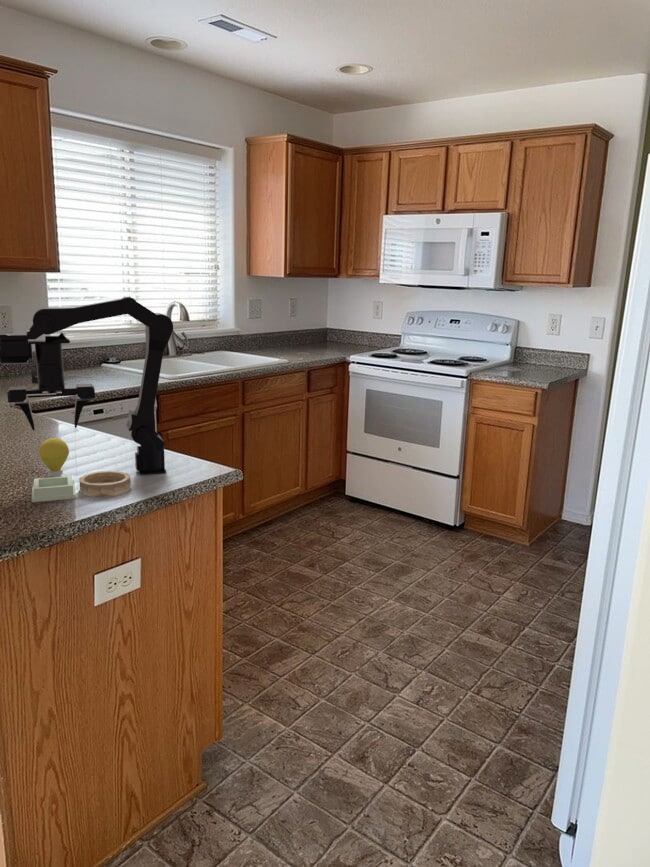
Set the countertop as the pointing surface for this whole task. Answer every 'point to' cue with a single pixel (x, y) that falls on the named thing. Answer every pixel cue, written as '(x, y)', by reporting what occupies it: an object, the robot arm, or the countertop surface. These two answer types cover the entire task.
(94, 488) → the round cradle
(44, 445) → the light bulb
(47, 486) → the square socket
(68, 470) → the countertop surface
